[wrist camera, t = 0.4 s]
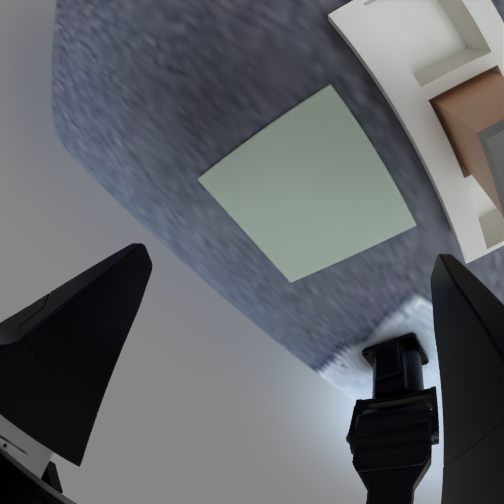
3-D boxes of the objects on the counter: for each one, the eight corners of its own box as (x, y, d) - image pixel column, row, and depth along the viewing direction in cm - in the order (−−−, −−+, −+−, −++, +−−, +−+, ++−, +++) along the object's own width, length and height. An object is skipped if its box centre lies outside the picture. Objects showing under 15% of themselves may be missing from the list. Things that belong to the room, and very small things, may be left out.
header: (536, 187, 16) (559, 213, 13) (452, 231, 21) (466, 263, 18) (436, -34, 10) (458, -47, 7) (328, 20, 15) (328, 14, 12)
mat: (415, 221, 22) (416, 225, 21) (291, 278, 28) (290, 282, 28) (330, 83, 17) (330, 84, 17) (200, 176, 24) (197, 179, 23)
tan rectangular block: (498, 125, 15) (580, 193, 7) (448, 151, 17) (511, 234, 10) (472, 64, 13) (563, 98, 6) (418, 91, 15) (485, 140, 8)
